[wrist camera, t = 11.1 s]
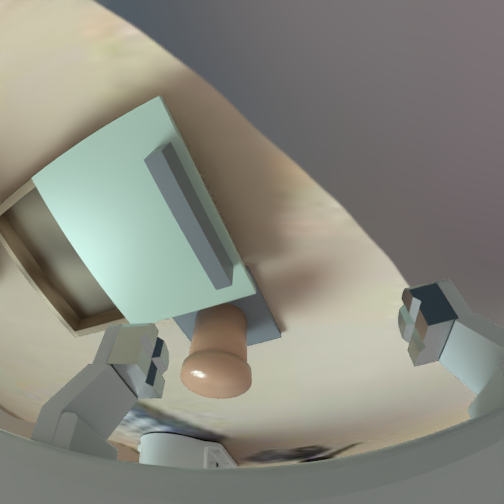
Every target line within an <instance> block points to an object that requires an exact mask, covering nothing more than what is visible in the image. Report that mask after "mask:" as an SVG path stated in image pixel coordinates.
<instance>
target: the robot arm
mask: <svg viewBox="0 0 504 504" xmlns="http://www.w3.org/2000/svg"><path fill="white" fill-rule="evenodd" d="M402 300H403V303H404V305H403V306H402V307H401V308H400V309H399V315H398V323H399V329H400V333H401V335H402V338H403V339H404V340H406V341H407V342H409V347H408V352H409V355H410V357H411V359H412V362H413V364H414V367H415V366H419V365H424V364H427V363H431V362H435V361H439V363H440V364H441V365H443V366H444V367H445V368H446V369H447V370H449V371H450V372H451V373H452V374H453V375H454V376H456V377H457V378H458V379H459V380H460V381H462V382H463V383H464V384H465V385H466V386H467V387H469V388H470V389H471V390H472V391H473V392H474V393H476V394H477V397H476V398H475V399H474V401H473V402H472V403H471V405H470V406H469V408H468V413H469V415H470V418H471V419H470V420H467V421H465V422H462V423H460V424H457V425H455V426H452V427H449V428H447V429H444V430H441V431H438V432H435V433H433V434H430V435H427V436H424V437H420V438H417V439H414V440H411V441H407V442H404V443H400V444H397V445H393V446H389V447H386V448H382V449H378V450H373V451H369V452H365V453H360V454H355V455H350V456H345V457H340V458H334V459H328V460H322V461H315V462H308V463H300V464H291V465H280V466H268V467H250V468H237V467H238V465H237V464H236V462H235V461H234V460H233V459H232V457H231V456H230V455H229V453H228V452H227V451H226V450H225V448H224V447H223V446H222V444H220V443H215V442H207V441H201V440H198V439H194V438H190V437H186V436H182V435H176V434H168V433H150V434H146V435H143V436H142V437H141V438H140V442H141V444H139V445H138V451H139V452H140V459H139V463H134V462H127V461H120V460H117V456H118V450H117V448H116V447H115V446H113V445H112V444H111V443H109V442H108V441H107V439H108V437H109V436H110V435H111V433H112V432H113V431H114V430H115V428H116V427H117V426H118V425H119V423H120V422H121V421H122V420H123V418H124V417H125V416H126V414H127V413H128V412H129V411H130V409H131V408H132V407H133V406H134V404H135V403H136V402H137V400H138V399H137V398H162V394H163V389H164V384H165V380H164V378H163V376H162V374H163V373H164V372H165V371H166V370H167V369H168V364H169V352H168V349H167V346H166V344H165V342H164V341H163V340H162V339H160V338H159V337H157V336H158V332H159V331H158V329H157V327H156V326H155V324H153V323H139V324H121V325H110V326H109V327H107V329H106V332H105V334H104V336H103V339H102V341H101V344H100V346H99V349H98V351H97V354H96V356H95V359H94V361H93V364H88V365H87V366H86V367H85V368H84V369H83V370H82V371H80V372H79V373H78V374H77V375H76V376H75V377H74V378H73V379H72V380H70V381H69V382H68V383H67V384H66V385H65V386H64V387H63V388H62V389H61V390H60V391H58V392H57V393H56V394H55V395H54V396H53V397H52V398H51V399H50V400H49V401H48V402H46V403H45V404H44V405H43V406H42V408H41V411H40V414H39V416H38V419H37V422H36V424H35V427H34V430H33V433H32V436H31V439H28V438H25V437H22V436H19V435H16V434H13V433H10V432H8V431H5V430H2V429H0V504H504V328H502V327H500V326H498V325H496V324H495V323H493V322H491V321H489V320H488V319H486V318H484V317H483V316H481V315H479V314H473V313H472V312H471V310H470V309H469V307H468V306H467V304H466V302H465V301H464V300H463V298H462V296H461V295H460V293H459V292H458V291H457V289H456V288H455V286H454V285H453V283H452V282H451V281H450V280H448V279H446V280H441V281H437V282H434V283H428V284H424V285H419V286H414V287H410V288H405V289H404V291H403V294H402Z"/></svg>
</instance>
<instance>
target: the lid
mask: <svg viewBox="0 0 504 504" xmlns="http://www.w3.org/2000/svg"><path fill="white" fill-rule="evenodd" d="M31 179H32V180H33V182H34V184H35V186H36V188H37V189H38V191H39V193H40V195H41V196H42V198H43V200H44V202H45V203H46V205H47V207H48V208H49V210H50V212H51V213H52V215H53V216H54V218H55V220H56V221H57V223H58V225H59V226H60V228H61V229H62V231H63V232H64V234H65V235H66V237H67V239H68V240H69V242H70V243H71V245H72V246H73V248H74V249H75V251H76V252H77V253H78V255H79V256H80V258H81V259H82V261H83V262H84V264H85V265H86V266H87V268H88V269H89V271H90V272H91V273H92V275H93V276H94V277H95V279H96V280H97V282H98V283H99V284H100V286H101V287H102V288H103V290H104V291H105V292H106V294H107V295H108V296H109V297H110V299H111V300H112V301H113V303H114V304H115V305H116V306H117V308H118V309H119V310H120V311H121V313H122V314H123V315H124V316H125V318H126V319H127V320H128V321H129V323H130V324H139V323H153V322H157V321H161V320H164V319H168V318H172V317H175V316H179V315H183V314H186V313H190V312H194V311H197V310H201V309H204V308H208V307H212V306H215V305H219V304H222V303H226V302H229V301H232V300H236V299H239V298H243V297H246V296H249V295H253V294H256V288H255V286H254V284H253V282H252V280H251V278H250V276H249V274H248V272H247V270H246V268H245V266H244V264H243V262H242V260H241V258H240V256H239V253H238V251H237V249H236V247H235V245H234V243H233V241H232V239H231V237H230V235H229V233H228V231H227V229H226V227H225V225H224V223H223V221H222V219H221V217H220V215H219V213H218V211H217V209H216V207H215V205H214V203H213V201H212V199H211V197H210V194H209V192H208V190H207V188H206V186H205V184H204V182H203V180H202V178H201V176H200V174H199V172H198V170H197V168H196V166H195V164H194V162H193V159H192V157H191V155H190V153H189V151H188V149H187V147H186V145H185V143H184V141H183V139H182V137H181V135H180V132H179V130H178V128H177V126H176V124H175V122H174V120H173V118H172V116H171V114H170V111H169V109H168V107H167V105H166V103H165V101H164V99H163V97H162V95H160V96H158V97H156V98H154V99H152V100H150V101H148V102H146V103H144V104H142V105H141V106H139V107H137V108H135V109H133V110H131V111H130V112H128V113H126V114H124V115H123V116H121V117H119V118H118V119H116V120H114V121H113V122H111V123H109V124H108V125H106V126H104V127H103V128H101V129H99V130H98V131H96V132H95V133H93V134H92V135H90V136H89V137H87V138H85V139H84V140H82V141H81V142H79V143H78V144H77V145H75V146H74V147H72V148H71V149H69V150H68V151H66V152H65V153H64V154H62V155H61V156H59V157H58V158H57V159H55V160H54V161H53V162H51V163H50V164H49V165H47V166H46V167H45V168H43V169H42V170H41V171H39V172H38V173H37V174H36V175H34V176H33V177H32V178H31Z"/></svg>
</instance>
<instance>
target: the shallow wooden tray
mask: <svg viewBox="0 0 504 504" xmlns="http://www.w3.org/2000/svg"><path fill="white" fill-rule="evenodd" d="M0 241H1V243H2V245H3V246H4V248H5V249H6V251H7V252H8V254H9V255H10V257H11V258H12V260H13V261H14V262H15V264H16V265H17V267H18V268H19V269H20V271H21V272H22V274H23V275H24V276H25V278H26V279H27V280H28V282H29V283H30V284H31V286H32V287H33V288H34V290H35V291H36V292H37V294H38V295H39V296H40V297H41V299H42V300H43V301H44V302H45V304H46V305H47V306H48V307H49V308H50V310H51V311H52V312H53V313H54V314H55V316H56V317H57V318H58V319H59V320H60V321H61V323H62V324H63V325H64V326H65V327H66V328H67V329H68V331H69V332H70V333H71V334H72V335H73V336H74V337H75V338H76V337H80V336H84V335H88V334H92V333H96V332H100V331H104V330H106V329H107V327H109V326H110V325H121V324H130V323H129V321H128V320H127V319H126V318H125V316H124V315H123V314H122V313H121V311H120V310H119V309H118V308H117V306H116V305H115V304H114V303H113V301H112V300H111V299H110V297H109V296H108V295H107V294H106V292H105V291H104V290H103V288H102V287H101V286H100V284H99V283H98V282H97V280H96V279H95V277H94V276H93V275H92V273H91V272H90V271H89V269H88V268H87V266H86V265H85V264H84V262H83V261H82V259H81V258H80V256H79V255H78V253H77V252H76V251H75V249H74V248H73V246H72V245H71V243H70V242H69V240H68V239H67V237H66V235H65V234H64V232H63V231H62V229H61V228H60V226H59V225H58V223H57V221H56V220H55V218H54V216H53V215H52V213H51V212H50V210H49V208H48V207H47V205H46V203H45V202H44V200H43V198H42V196H41V195H40V193H39V191H38V189H37V188H36V186H35V184H34V182H33V180H32V179H30V180H29V181H27V182H26V183H25V184H24V185H23V186H21V187H20V188H19V189H18V190H17V191H15V192H14V193H13V194H12V195H11V196H10V197H8V198H7V199H6V200H5V201H4V202H3V203H2V204H1V205H0Z"/></svg>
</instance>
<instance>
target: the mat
mask: <svg viewBox="0 0 504 504" xmlns="http://www.w3.org/2000/svg"><path fill="white" fill-rule="evenodd" d="M246 270H247V272H248V274H249V276H250V278H251V280H252V282H253V284H254V286H255V288H256V294H253V295H249V296H246V297H243V298H239V299H236V300H232V301H229V302H226V303H228V304H231V305H234V306H236V307H238V308H239V309H241V310H242V311H243V312H244V314H245V315H246V317H247V346H250V345H254V344H258V343H262V342H265V341H269V340H273V339H277V338H281V332H280V330H279V328H278V326H277V324H276V322H275V320H274V318H273V316H272V314H271V312H270V310H269V308H268V306H267V304H266V302H265V300H264V298H263V296H262V294H261V292H260V290H259V288H258V286H257V284H256V282H255V280H254V278H253V276H252V274H251V272H250V270H249V268H248V267H246ZM198 311H199V310H197V311H194V312H190V313H186V314H183V315H179V316H175V317H172V318H173V319H174V321H175V322H176V323H177V324H178V326H179V327H180V328H181V330H182V331H183V332H184V334H185V335H186V336H187V338H188V339H189V340H190V341H192V335H193V330H194V324H195V319H196V315H197V313H198Z"/></svg>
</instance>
